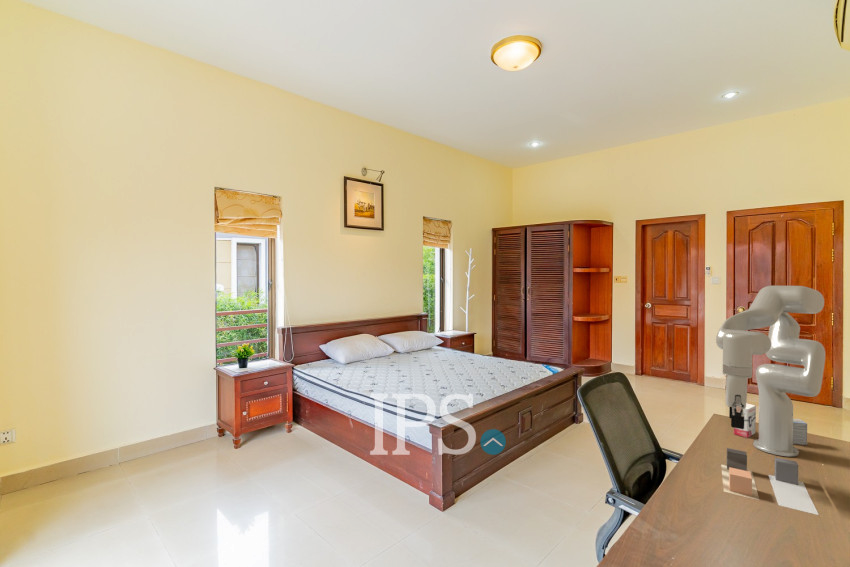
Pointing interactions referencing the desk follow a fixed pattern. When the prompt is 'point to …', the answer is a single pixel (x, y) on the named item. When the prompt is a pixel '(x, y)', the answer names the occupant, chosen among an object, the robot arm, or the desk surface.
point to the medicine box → (799, 432)
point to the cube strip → (726, 484)
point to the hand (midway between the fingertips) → (736, 423)
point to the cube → (740, 481)
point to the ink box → (748, 422)
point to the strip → (790, 487)
